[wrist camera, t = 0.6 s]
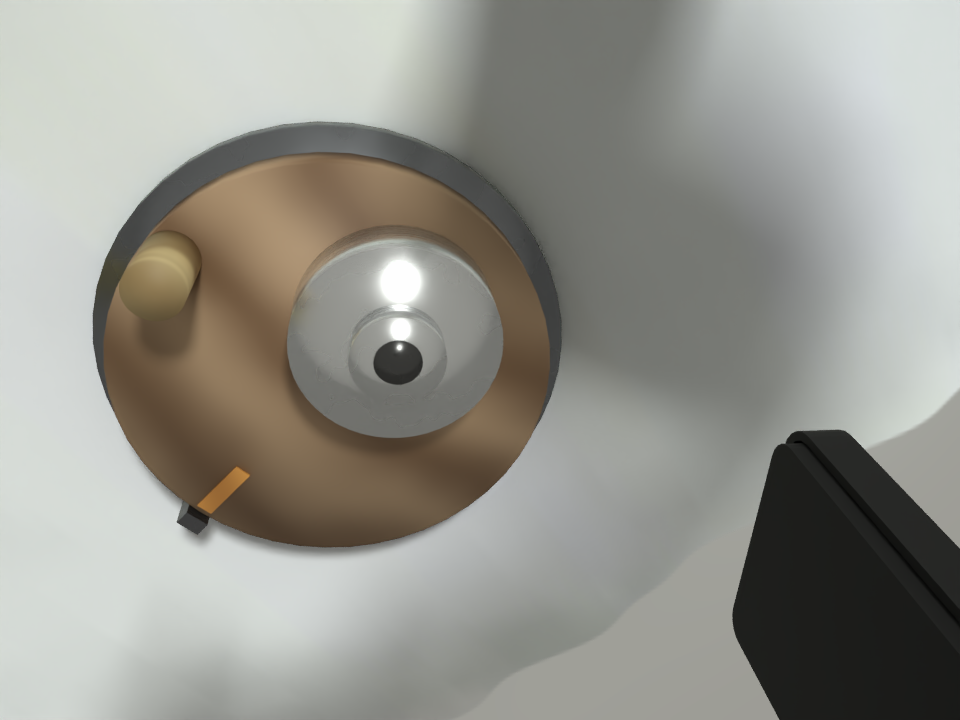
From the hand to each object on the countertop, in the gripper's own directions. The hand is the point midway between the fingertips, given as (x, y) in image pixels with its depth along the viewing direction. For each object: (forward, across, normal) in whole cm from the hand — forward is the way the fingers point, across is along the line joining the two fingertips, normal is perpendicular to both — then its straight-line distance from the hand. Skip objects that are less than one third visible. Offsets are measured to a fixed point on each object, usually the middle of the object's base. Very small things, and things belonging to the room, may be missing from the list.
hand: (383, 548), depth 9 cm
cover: (+26, -1, +9) cm, 27 cm away
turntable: (+28, +2, +12) cm, 30 cm away
